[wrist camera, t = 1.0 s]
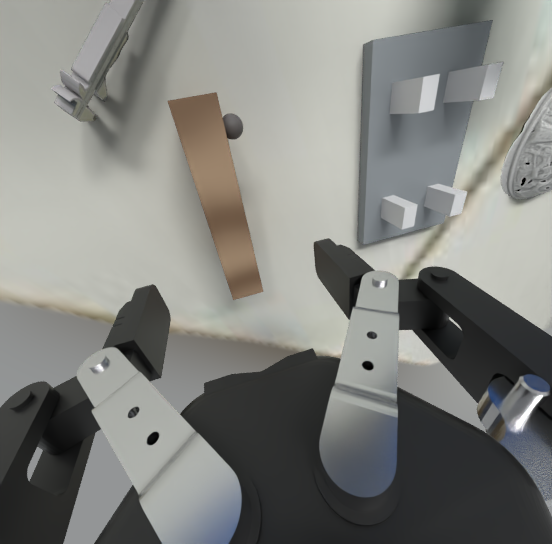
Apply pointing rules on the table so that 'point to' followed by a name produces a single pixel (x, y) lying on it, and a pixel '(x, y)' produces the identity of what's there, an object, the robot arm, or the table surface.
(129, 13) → the caliper
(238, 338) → the table surface
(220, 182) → the cabinet door
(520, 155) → the oval brooch
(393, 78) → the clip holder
